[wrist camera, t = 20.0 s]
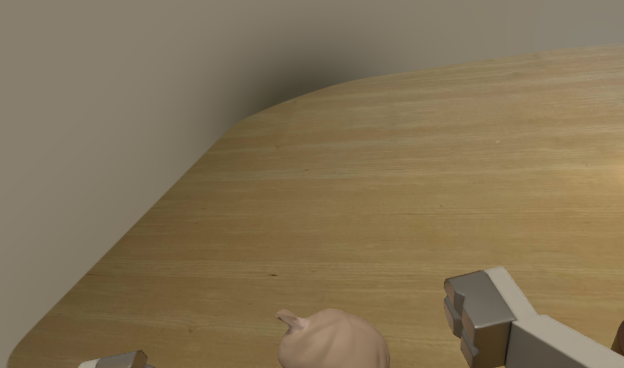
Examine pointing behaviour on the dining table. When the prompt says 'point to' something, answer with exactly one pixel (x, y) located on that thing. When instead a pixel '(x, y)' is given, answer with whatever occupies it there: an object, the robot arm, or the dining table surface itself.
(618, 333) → the brown cylinder
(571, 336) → the robot arm
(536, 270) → the dining table surface
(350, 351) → the garlic bulb
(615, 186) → the dining table surface
